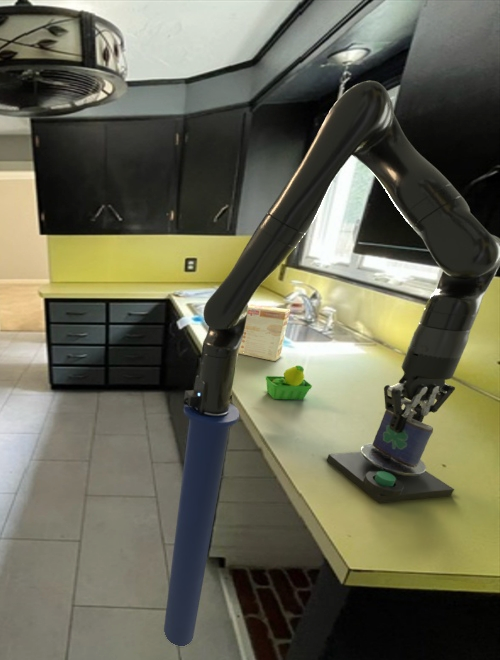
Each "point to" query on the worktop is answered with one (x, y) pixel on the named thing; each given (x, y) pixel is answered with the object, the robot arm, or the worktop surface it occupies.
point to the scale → (401, 490)
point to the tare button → (385, 479)
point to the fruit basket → (288, 384)
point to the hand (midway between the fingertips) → (402, 429)
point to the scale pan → (390, 462)
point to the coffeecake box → (264, 332)
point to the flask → (403, 439)
